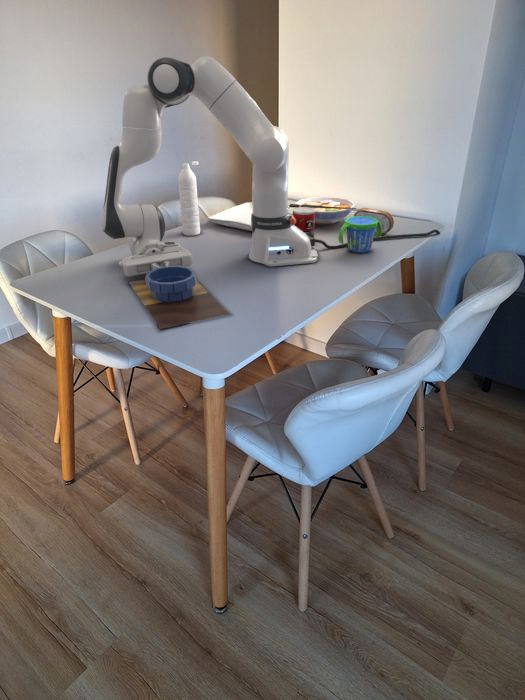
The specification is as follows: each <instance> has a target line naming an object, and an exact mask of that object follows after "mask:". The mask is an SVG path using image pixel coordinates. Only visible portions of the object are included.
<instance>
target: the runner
mask: <svg viewBox="0 0 525 700" xmlns="http://www.w3.org/2000/svg"><path fill="white" fill-rule="evenodd" d="M167 277H169V276H167ZM182 277H183V276H182ZM162 278H163V277H162ZM187 278H188V277H187ZM159 279H160V278H159ZM128 283H129V285H130V286H131V288H132V290H133V291H134V293H136V295H137V297H138V298H139V300H140V301H141V303H142V304H143V306H145V305H150V304H155V303H160V302H162V301H159V300H156V299H155V298H154V297H152V296H151V291H150V290H149V289H148V288H147V287H146V280H145V279H140V280H135V281H129V282H128ZM193 289H194V290H193V294H192V295H191V296H195V295H200V294H205V293H209V292H208V290H207V289H205V288H204V287H203V286H202V284H201V283H200V282H198V281H197V280H196V284H195V286H194V287H193Z"/></svg>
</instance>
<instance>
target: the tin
mask: <svg viewBox="0 0 525 700" xmlns="http://www.w3.org/2000/svg"><path fill="white" fill-rule="evenodd" d="M353 216H368V217H373V218H375V219H377V220H378V221H379V222H380V223H381V228H382V234H381V236H384V235H386V234H387V233H389V232H391V231H392V229H393V227H394V224H395V221H394V217H393V215H392V214H391V213H390V212H389V211H386V210H381V209H375V208H369V207H362V208H359V209H358V210H356V212H355V213H354V214H353ZM376 232H377V227H376V228H375V233H374V235H376Z"/></svg>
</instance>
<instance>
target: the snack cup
mask: <svg viewBox="0 0 525 700" xmlns="http://www.w3.org/2000/svg"><path fill="white" fill-rule="evenodd" d="M376 227H377V232H376V234H374V233H375V228H376ZM345 231H346V241H347V242H346V243H348V246H347V248H348V250H349V252H353V253H356V254H363V253H368V252H370V251H371V248H372V247H373V242H374V240H373V238H374V237H381V236H382V235H381V234H382V228H381V223H380V222H379V221H378V220H377V219H375V218H373V217H368V216H354V215H353V216H349V217H347V218H345V220H344V223H343V224H342V226H341V227H340V230H339V233H338V242H339V244H340V245H341V244H344V232H345Z"/></svg>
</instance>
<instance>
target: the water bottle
mask: <svg viewBox="0 0 525 700" xmlns="http://www.w3.org/2000/svg"><path fill="white" fill-rule="evenodd" d="M191 165H192V166H198V165H199V160H193V161H191ZM181 167H182V168H181V170H180V172H179V174H178V176H177V184H178V192H179V193H178V194H179V206H180V215H181V216H180V218H181V225H182V234H183V235H184V236H188V237H192V236H193V237H195V236H198V235H200V234H201V222H200V212H199V198H198V189H197V188H198V187H197V177H196V174H195V173H194V172H193V170H192V169H191V166H190V163H189V162H188V163H187V162H184V163H182V166H181Z"/></svg>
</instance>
